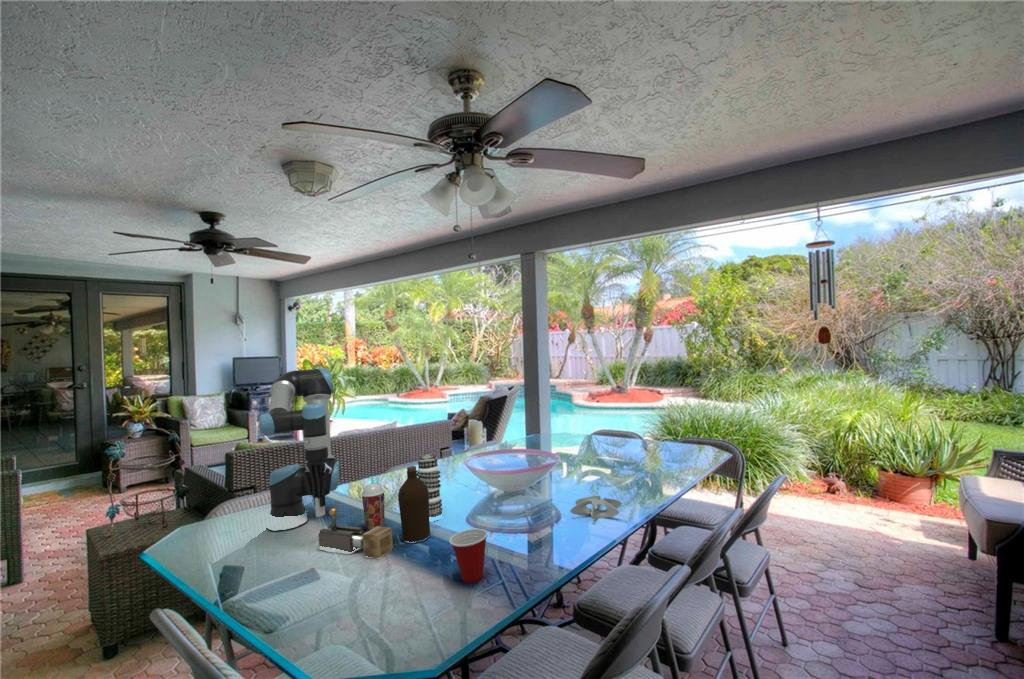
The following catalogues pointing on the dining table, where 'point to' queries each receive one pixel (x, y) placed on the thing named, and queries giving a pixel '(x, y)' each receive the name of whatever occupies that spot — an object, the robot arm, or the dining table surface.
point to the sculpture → (596, 513)
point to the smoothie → (373, 504)
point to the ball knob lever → (356, 539)
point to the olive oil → (414, 507)
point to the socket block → (377, 541)
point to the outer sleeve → (339, 537)
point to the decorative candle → (431, 482)
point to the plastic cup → (470, 553)
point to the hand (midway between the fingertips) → (320, 515)
